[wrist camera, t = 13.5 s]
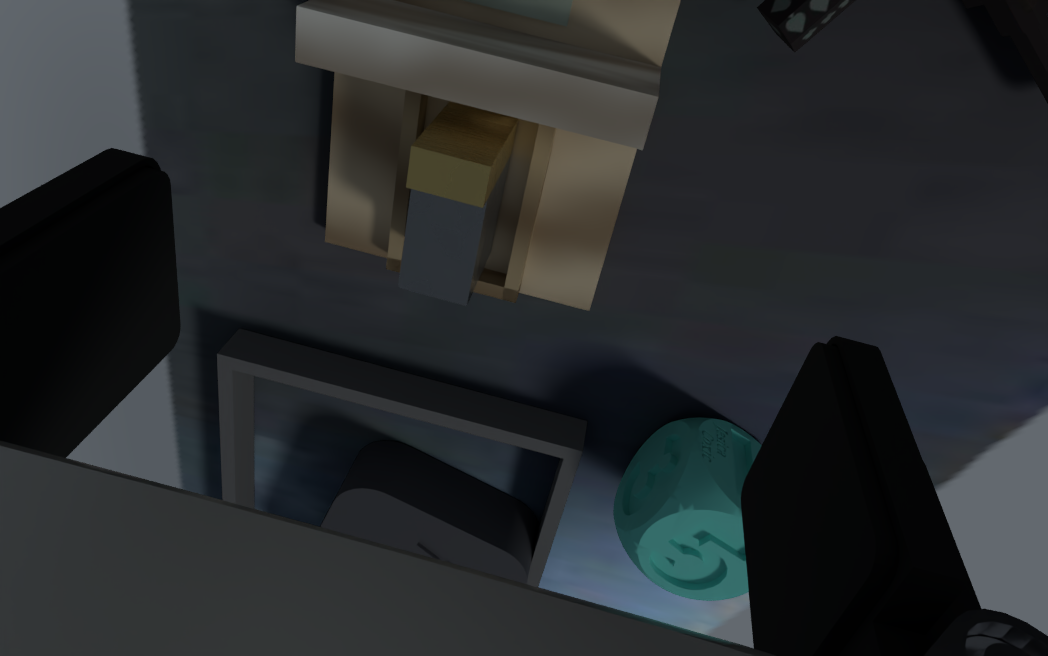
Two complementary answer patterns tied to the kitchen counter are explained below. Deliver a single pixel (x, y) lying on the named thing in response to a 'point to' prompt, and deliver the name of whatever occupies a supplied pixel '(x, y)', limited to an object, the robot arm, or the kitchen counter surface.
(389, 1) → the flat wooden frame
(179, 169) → the kitchen counter surface
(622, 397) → the kitchen counter surface
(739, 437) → the decorative dice
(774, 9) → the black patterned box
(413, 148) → the latch bar
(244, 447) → the dark rectangular frame
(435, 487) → the streaming box
